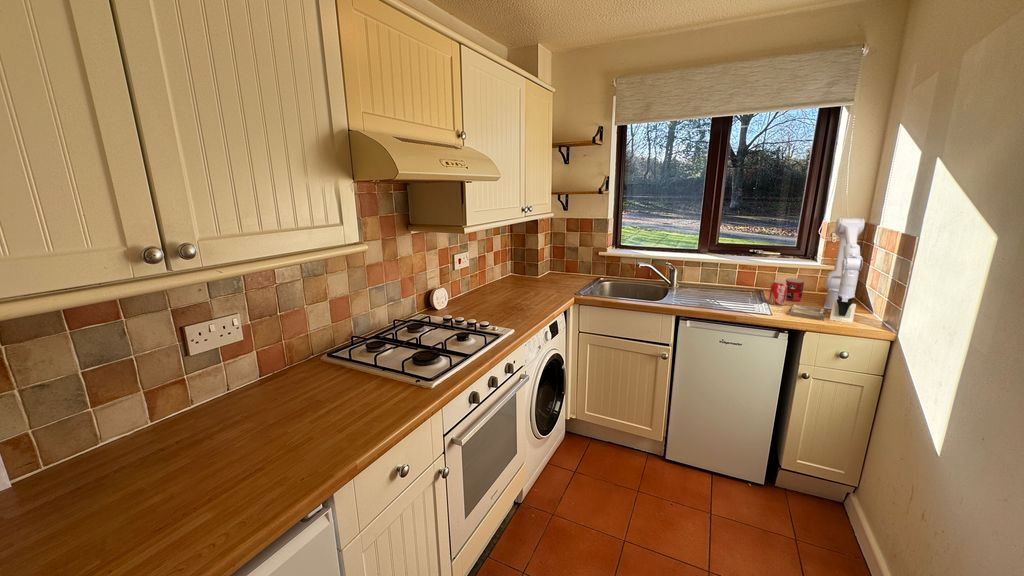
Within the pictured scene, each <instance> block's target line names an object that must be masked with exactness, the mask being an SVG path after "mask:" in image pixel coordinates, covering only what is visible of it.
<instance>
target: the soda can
mask: <svg viewBox="0 0 1024 576" xmlns="http://www.w3.org/2000/svg"><path fill="white" fill-rule="evenodd" d="M787 288H788V286H787V282H786V280H785V281H784V280H773V282H772V283H771V287H770V291H769V298H768V300H769V301H768V303H769V304H770V305H771V306H775V307H782V306H784V305H785V304H786V301H787V300H786V295H787Z"/></svg>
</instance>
